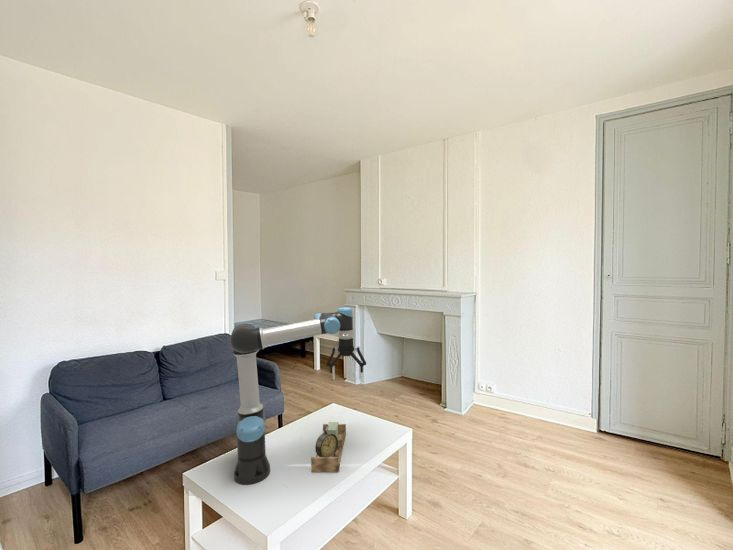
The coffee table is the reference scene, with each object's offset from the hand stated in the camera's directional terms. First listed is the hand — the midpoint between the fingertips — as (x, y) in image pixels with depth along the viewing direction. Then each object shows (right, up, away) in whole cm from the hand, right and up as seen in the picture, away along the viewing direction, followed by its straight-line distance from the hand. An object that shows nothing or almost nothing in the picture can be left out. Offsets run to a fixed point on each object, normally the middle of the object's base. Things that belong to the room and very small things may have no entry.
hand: (346, 379), depth 180 cm
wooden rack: (-8, -33, -9) cm, 35 cm away
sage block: (-7, -32, -1) cm, 33 cm away
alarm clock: (-9, -33, -17) cm, 37 cm away
